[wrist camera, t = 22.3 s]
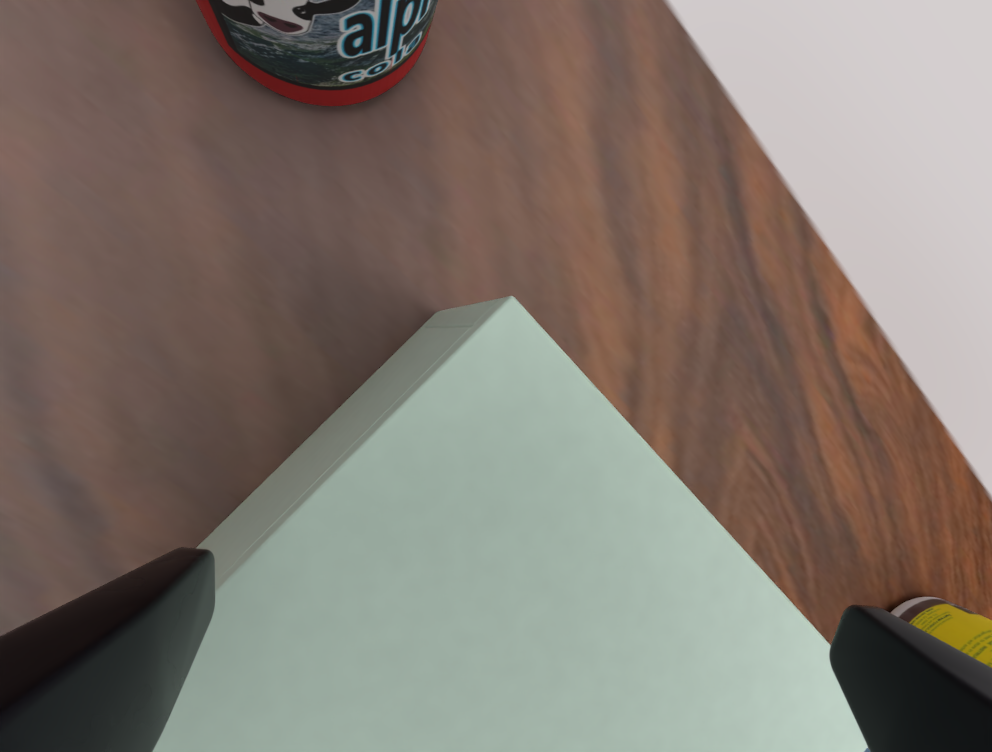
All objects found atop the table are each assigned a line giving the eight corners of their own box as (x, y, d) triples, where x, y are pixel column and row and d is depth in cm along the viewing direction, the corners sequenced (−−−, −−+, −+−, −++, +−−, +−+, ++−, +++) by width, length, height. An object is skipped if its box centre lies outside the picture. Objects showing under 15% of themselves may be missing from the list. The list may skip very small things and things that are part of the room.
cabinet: (679, 562, 22) (894, 715, 13) (462, 810, 21) (546, 1161, 12) (437, 310, 19) (513, 293, 10) (162, 580, 18) (-25, 830, 9)
